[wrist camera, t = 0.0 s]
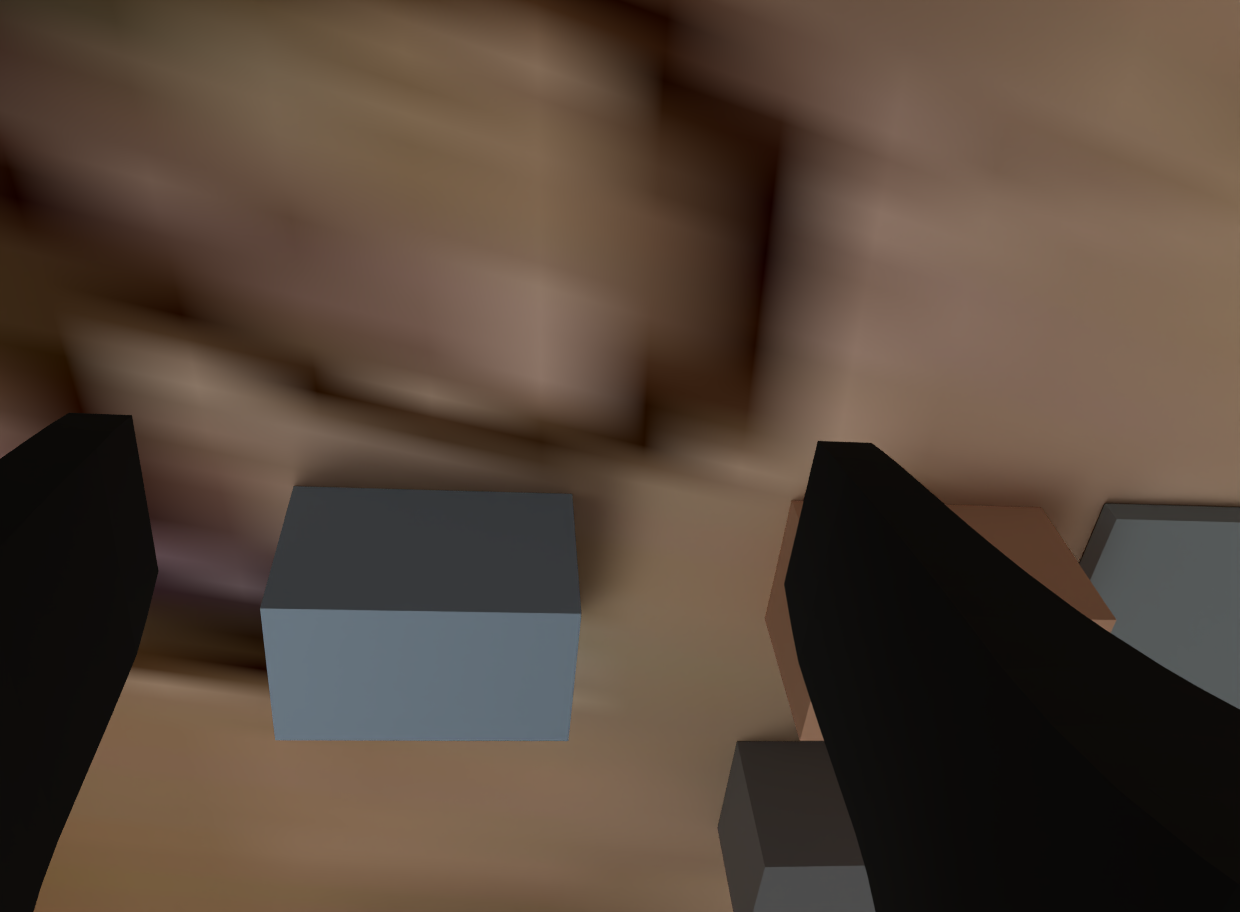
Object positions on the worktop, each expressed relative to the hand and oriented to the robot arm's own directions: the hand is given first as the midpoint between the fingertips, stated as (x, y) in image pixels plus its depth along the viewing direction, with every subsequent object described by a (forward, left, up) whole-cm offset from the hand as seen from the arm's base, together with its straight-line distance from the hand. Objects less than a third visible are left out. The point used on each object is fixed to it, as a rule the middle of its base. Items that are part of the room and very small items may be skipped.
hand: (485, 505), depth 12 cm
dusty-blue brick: (-9, +1, -10) cm, 14 cm away
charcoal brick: (-17, -10, -10) cm, 22 cm away
